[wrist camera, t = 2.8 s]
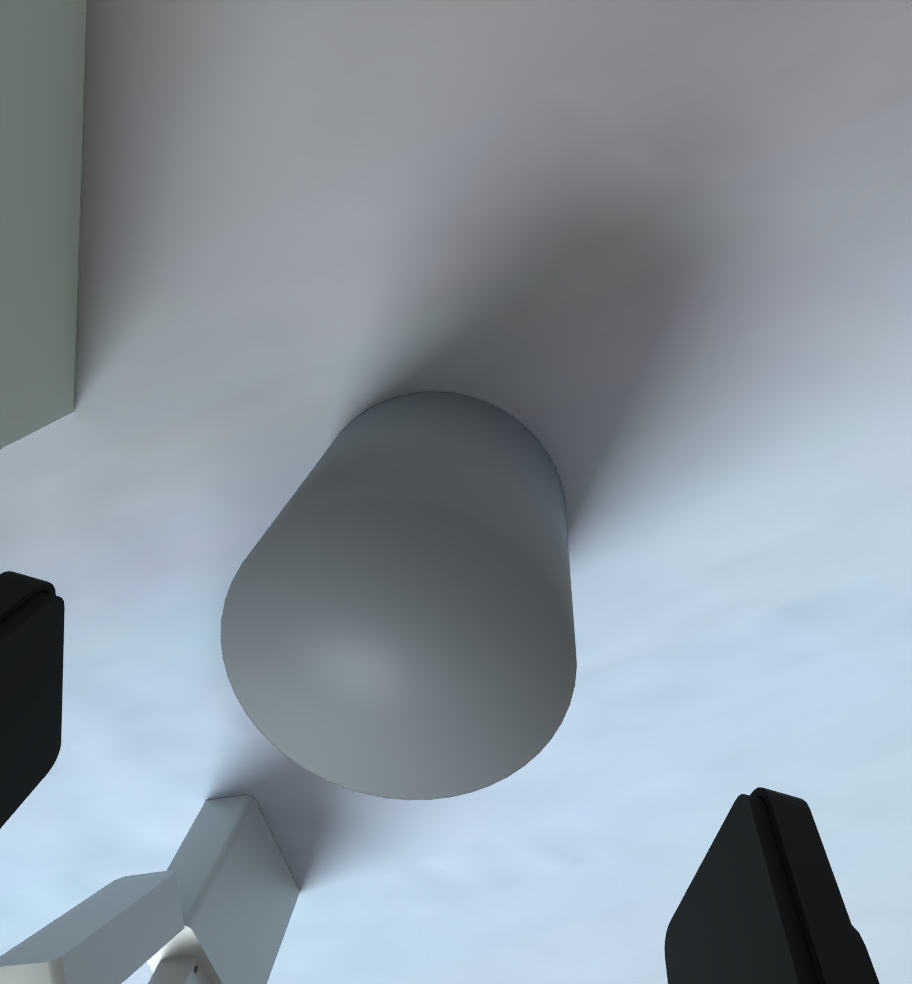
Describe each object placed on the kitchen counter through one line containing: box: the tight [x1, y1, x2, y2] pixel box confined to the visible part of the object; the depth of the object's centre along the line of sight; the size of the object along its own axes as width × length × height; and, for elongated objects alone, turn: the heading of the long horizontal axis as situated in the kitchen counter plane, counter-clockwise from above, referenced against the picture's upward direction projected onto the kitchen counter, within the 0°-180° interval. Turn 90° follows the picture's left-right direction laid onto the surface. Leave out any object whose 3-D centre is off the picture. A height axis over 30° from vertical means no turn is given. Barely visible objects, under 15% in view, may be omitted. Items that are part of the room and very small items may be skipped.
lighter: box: [0, 794, 300, 984], centre depth 19 cm, size 7×2×8 cm, turn 17°
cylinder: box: [221, 392, 577, 800], centre depth 16 cm, size 6×6×6 cm
